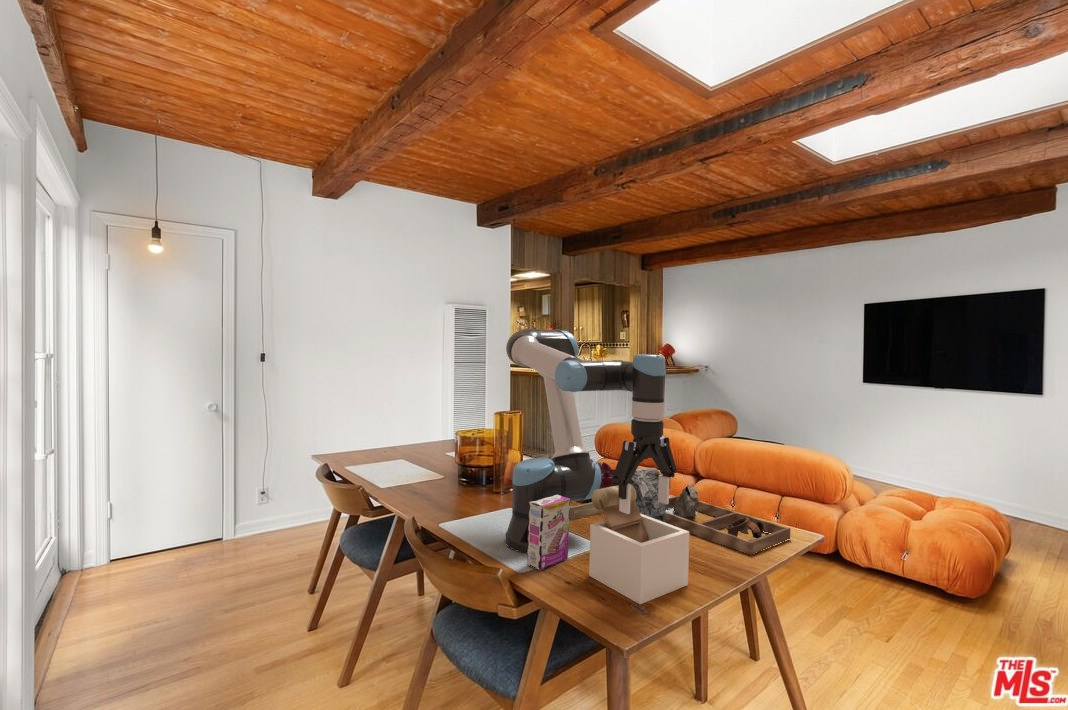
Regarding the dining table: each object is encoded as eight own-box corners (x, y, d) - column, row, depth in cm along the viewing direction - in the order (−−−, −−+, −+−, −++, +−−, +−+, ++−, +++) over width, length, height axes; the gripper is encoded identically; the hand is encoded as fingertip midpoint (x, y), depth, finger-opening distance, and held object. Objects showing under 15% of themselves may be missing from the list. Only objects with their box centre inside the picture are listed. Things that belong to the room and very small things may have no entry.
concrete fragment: (682, 506, 181) (683, 476, 180) (705, 525, 161) (706, 491, 161) (665, 506, 180) (666, 476, 180) (687, 525, 161) (688, 491, 161)
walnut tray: (640, 514, 170) (641, 504, 170) (680, 504, 183) (680, 495, 183) (751, 555, 138) (751, 543, 138) (790, 540, 150) (790, 528, 150)
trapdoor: (586, 493, 127) (597, 487, 124) (622, 486, 135) (634, 480, 132) (615, 577, 119) (628, 572, 115) (652, 564, 127) (665, 559, 123)
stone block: (638, 546, 143) (640, 476, 143) (614, 536, 150) (615, 470, 150) (674, 531, 155) (676, 467, 155) (650, 523, 162) (652, 462, 162)
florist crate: (521, 497, 187) (521, 486, 187) (600, 482, 210) (600, 473, 210) (571, 520, 164) (571, 507, 163) (653, 500, 187) (654, 489, 187)
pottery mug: (756, 554, 140) (740, 526, 142) (731, 558, 148) (716, 531, 150) (778, 535, 147) (763, 509, 149) (753, 539, 154) (739, 514, 156)
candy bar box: (540, 572, 125) (542, 506, 125) (526, 565, 129) (527, 501, 128) (569, 559, 133) (570, 497, 133) (555, 553, 137) (556, 493, 136)
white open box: (589, 575, 124) (590, 524, 123) (635, 560, 133) (637, 512, 133) (640, 604, 110) (641, 546, 110) (688, 584, 120) (689, 531, 120)
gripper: (669, 413, 130) (666, 495, 131) (598, 420, 116) (595, 511, 116) (693, 417, 124) (690, 503, 125) (621, 425, 109) (618, 521, 110)
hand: (644, 507), depth 120 cm, fingers open, 13 cm apart
